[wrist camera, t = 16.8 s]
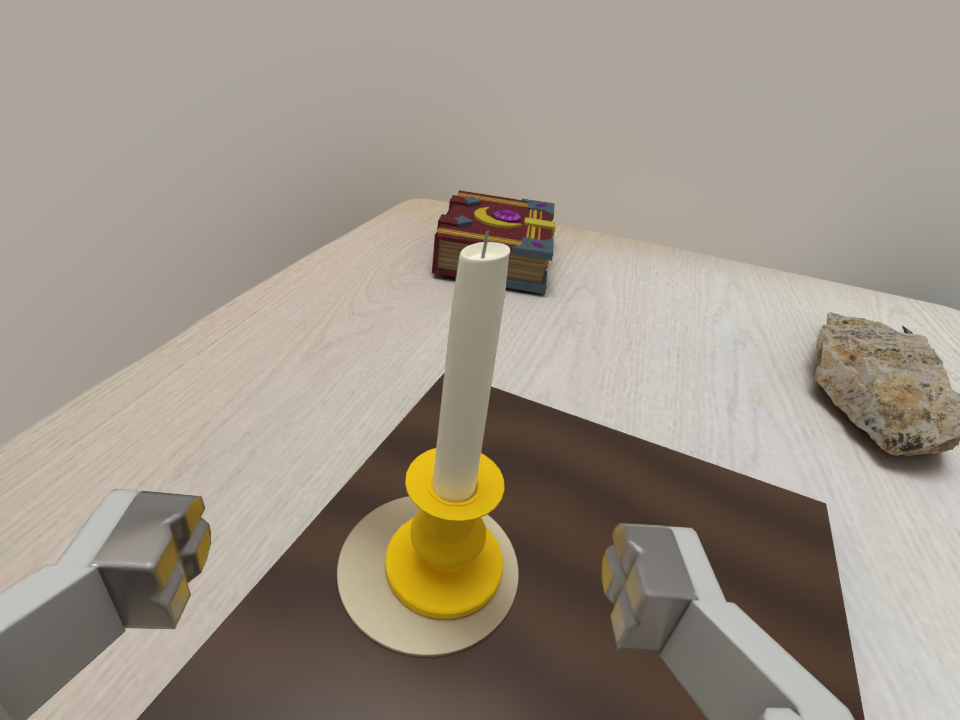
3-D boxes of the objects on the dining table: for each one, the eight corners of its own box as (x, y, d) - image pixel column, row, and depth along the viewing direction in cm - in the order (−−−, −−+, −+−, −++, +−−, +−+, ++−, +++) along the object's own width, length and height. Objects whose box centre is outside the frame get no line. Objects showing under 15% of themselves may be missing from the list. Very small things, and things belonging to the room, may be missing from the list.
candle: (370, 608, 22) (373, 250, 13) (400, 509, 26) (417, 190, 18) (497, 630, 22) (584, 283, 13) (505, 526, 26) (575, 215, 17)
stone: (1020, 448, 31) (871, 337, 34) (918, 506, 35) (789, 403, 37) (955, 342, 48) (858, 272, 50) (890, 389, 52) (802, 323, 54)
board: (925, 1273, 12) (972, 1282, 11) (138, 747, 18) (126, 725, 18) (814, 520, 31) (828, 500, 30) (444, 387, 37) (446, 367, 36)
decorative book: (428, 278, 51) (431, 228, 49) (455, 222, 65) (459, 180, 62) (545, 297, 51) (555, 248, 48) (548, 237, 64) (556, 196, 62)
